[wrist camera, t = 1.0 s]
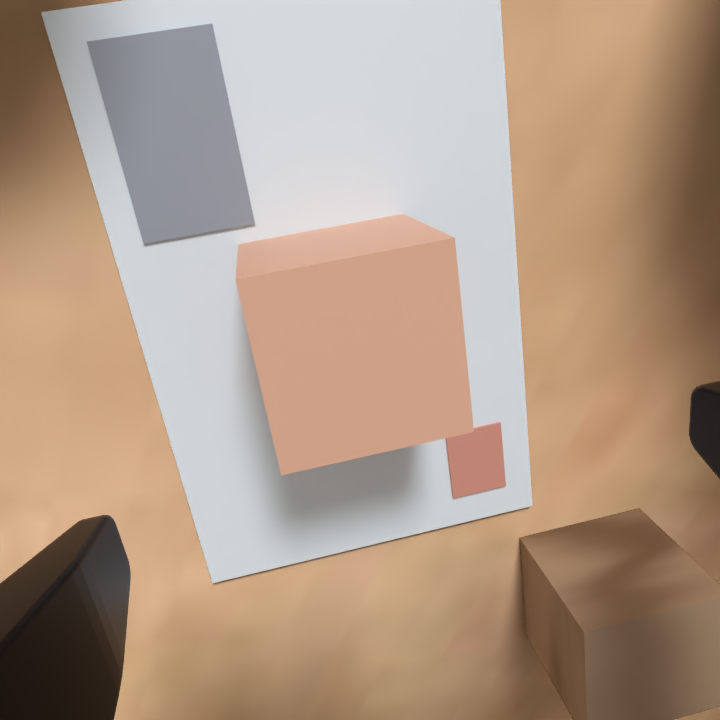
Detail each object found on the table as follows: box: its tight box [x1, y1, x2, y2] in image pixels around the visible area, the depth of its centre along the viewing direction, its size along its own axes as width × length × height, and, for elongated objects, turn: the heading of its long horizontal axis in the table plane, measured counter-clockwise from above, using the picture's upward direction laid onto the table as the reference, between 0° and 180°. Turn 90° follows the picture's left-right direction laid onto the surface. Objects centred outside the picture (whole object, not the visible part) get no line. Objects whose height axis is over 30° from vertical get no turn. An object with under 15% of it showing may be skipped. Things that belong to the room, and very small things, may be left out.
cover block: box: [236, 214, 474, 475], centre depth 17 cm, size 5×5×5 cm
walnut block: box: [520, 508, 720, 720], centre depth 23 cm, size 5×5×5 cm
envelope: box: [41, 0, 532, 583], centre depth 19 cm, size 12×18×1 cm, turn 9°
